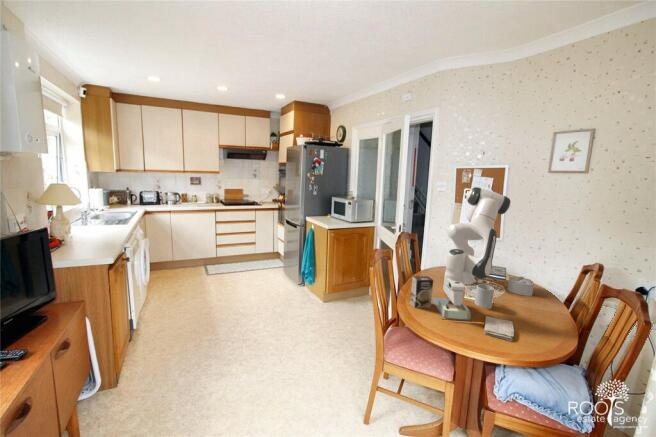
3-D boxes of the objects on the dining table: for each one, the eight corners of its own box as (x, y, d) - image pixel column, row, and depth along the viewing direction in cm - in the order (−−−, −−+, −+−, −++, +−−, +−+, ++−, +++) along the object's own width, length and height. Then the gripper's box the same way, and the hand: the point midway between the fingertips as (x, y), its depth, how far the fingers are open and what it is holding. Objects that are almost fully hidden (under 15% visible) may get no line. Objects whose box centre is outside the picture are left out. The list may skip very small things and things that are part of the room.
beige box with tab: (445, 310, 161) (446, 300, 160) (457, 311, 161) (458, 301, 160) (449, 316, 154) (450, 306, 153) (462, 317, 154) (463, 307, 153)
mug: (490, 311, 164) (492, 291, 163) (472, 306, 169) (475, 287, 167) (493, 303, 174) (496, 284, 172) (477, 299, 179) (479, 281, 177)
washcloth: (483, 335, 141) (484, 329, 140) (484, 319, 156) (485, 313, 156) (514, 343, 135) (515, 337, 135) (511, 325, 151) (512, 319, 150)
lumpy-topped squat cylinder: (532, 297, 185) (534, 283, 184) (507, 292, 191) (509, 278, 190) (531, 291, 194) (533, 278, 193) (507, 286, 200) (509, 273, 199)
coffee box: (414, 309, 163) (417, 280, 160) (409, 304, 169) (412, 275, 166) (430, 309, 164) (433, 280, 161) (425, 303, 170) (428, 275, 168)
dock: (430, 298, 177) (431, 290, 176) (455, 300, 176) (456, 292, 175) (442, 319, 153) (443, 310, 152) (471, 321, 152) (472, 312, 151)
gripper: (441, 273, 171) (439, 297, 173) (453, 287, 150) (450, 314, 153) (453, 274, 170) (450, 297, 172) (466, 288, 150) (463, 315, 152)
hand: (450, 305), depth 162 cm, fingers closed
